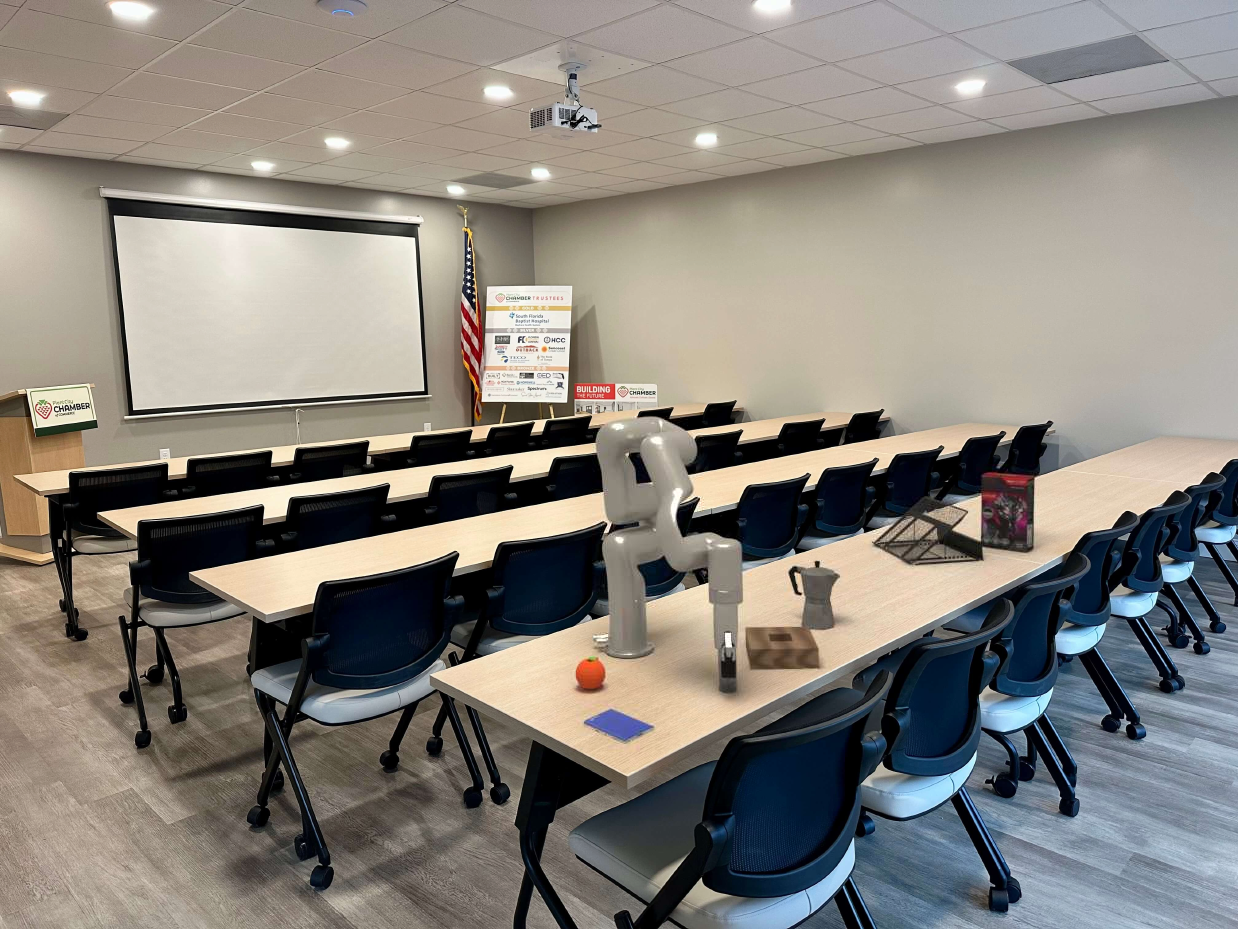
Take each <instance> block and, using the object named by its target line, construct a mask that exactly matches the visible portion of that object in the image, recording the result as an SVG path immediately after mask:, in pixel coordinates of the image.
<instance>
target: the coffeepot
mask: <svg viewBox="0 0 1238 929" xmlns="http://www.w3.org/2000/svg"><path fill="white" fill-rule="evenodd" d="M813 563H814V566H812V567H805V566H797V565H793V566H792V567H791V568H789V570H788V572H787V573H788V576H789V580H790V583H791V586H792V589H793V593H794V595H796V596H802V595H804V596H805V597H804V599H805V600H804V606H803V611H802V617H801V623H800V624H801V627H809V629H810V630H814V629H815V630H816V631H817V630H818V631H822V630H830V629H832V628H833V627H835V618H834V612H833V605H832V603H831V595H832V592H833V587H834V585H835V584H836V582H837V581H838V580H839V579H841V575H840V574H839V573H836V572H835V570H834V569H830V568H827V567H822V566H821V567H820V564H821V561H820V560H814V562H813ZM795 574H799V575H800V577H801V579H800V580H801V583H802V591H803V592H800V591H799V588H798V587H799V585H798V582H797V578H796V575H795ZM815 630H814V631H815Z"/></svg>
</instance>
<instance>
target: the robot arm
mask: <svg viewBox="0 0 1238 929" xmlns="http://www.w3.org/2000/svg"><path fill="white" fill-rule="evenodd" d="M595 450H596V455H597V459H598V463H599V466H600V471H601V478H602V481H601V482H602V490H603V502H604V512H605V516H606V518H607V521H609V523H610V524H613V525H628V524H632V523H638V524H639V526H633V527H627V528H624V529H618V530H615V531H613V532H611V533H609V534H608V535H607V536H605V538H604V539H603V542H602V546H601V547H602V548H601V550H602V556H603V560H604V566H605V570H606V577H607V592H608V593H607V594H608V595H607V596H608V616H609V632H605V634H600V633H599V634H598V633H593V635H592V636H593V637H592V638H593V639H592V641H593V643H595V642H596V644H597V645H604V652H605V653H606V655H608V654H609V655H608V656H610V657H614V658H619V659H634V658H642V657H644V656H647V655H649V654H650V653H652V652H653V651H654V644H653V642H652V641H650V640H648V628H647V627H648V626H647V602H646V600H647V599H646V598H647V596H646V582H645V578H644V577H643V575H642V573H641V572H640V571H639V569H638V565H642V564H646V563H650V562H653V561H658V560H659V559H660V560H661V558H662V557H664V558H665V560H666V561H667V563H668V564H669V566H670V567H671V568H672V569H673V570H675V571H677V572H679V573H680V572H681V573H685V572H690V571H694V570H698V569H701V568H707V571H708V572H707V576H708V578H707V580H708V582H707V583H708V603H709V604H711V605H713V609H712V610H713V611H712V613H713V615H712V616H713V617H712V618H713V642H714V643H713V644H714V648H715V650H718V648H721V649H722V660H721V677H722V678H736V666H737V659H736V660H735V653H734V649H736V650H737V648H738V640H739V638H738V636H739V633H738V632H739V609H738V608H739V605H741V604H743V603H744V592H743V591H744V588H743V587H744V584H743V547H742V544H741V542H740V541H738V540H737V539H734V538H726V537H724V536H723V537H722V536H721V535H720V534H716V533H713V532H703V533H699V534H698V533H697V534H694V535H687V536H684V537H683V536H682V534H681V530H680V528H679V526H678V521H677V514H678V510H679V507H680V505H681V504H682V503H684V502H685V501H686V500H688V498H690V497H691V496H692V495H693V493H694V490H695V488H694V484H693V482H692V481H691V478H690V476H689V474H688V471H687V469H686V466H685V465H689V464H691V463H693V462H694V460H695V459H696V457H697V454H698V446H697V443H696V441H695V439H694V437H693V436H692V434H691V433H689V431H687V430H685V429H684V428H682V427H680V426H678V425H676V424H674V423H672V422H669V421H668V420H665V419H664V418H661V417H658V416H642V417H633V418H629V417H628V418H623V419H615V420H612V421H609V422H606V423H604V425H601V427H600V428H599V430H598V432H597V434H596V438H595ZM632 453H640V458H641V459H642V462H643V464H644V467H645V468H646V471H647V473H648V476H649V478H650V480H651V482H652V483H648V482H642V483H637V479H636V476H637V475H636V468H635V466H634V465H633V462H632V461H631V459H630V457H629V456H628V455H627V454H632ZM724 635H725V638H724ZM723 645H726V646H723ZM731 645H732V646H731ZM724 650H726V651H725V652H724ZM724 656H725V657H724Z"/></svg>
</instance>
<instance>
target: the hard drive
mask: <svg viewBox="0 0 1238 929" xmlns="http://www.w3.org/2000/svg"><path fill="white" fill-rule="evenodd" d="M584 725H587V726H589V727H591V728H593V729H596V730H597V731H600V732H602V733H605V734H607V735H608V736H607V737H609V736H611V737H613V738H615V739H614V740H616V739H617V740H616V741H618V740H619V741H618V742H620V741H621V743H624V745H625V744H628V743H630V742H632V741H634V739H635V740H636V738H637V739H639V738H640V736H641V737H642V735H643V736H645V735H647V734H649V733H651V732H654V730H655V726H654V725H652V724H649V723H647V722H645V721H642V720H639V719H637V718H634V717H632V716H629V715H627V714H625V713H622V712H620V711H618V710H615V709H612V708H610V709H607V710H605V711H602V712H600V713H598V714H596V715H593V716H592V717H589V718H587V719H585V720H584V721H583V726H584ZM593 729H592V730H593ZM597 731H596V732H597ZM600 732H599V733H600ZM648 732H649V733H648ZM602 733H601V734H602ZM646 733H647V734H646ZM611 737H610V738H611ZM638 737H639V738H638ZM613 738H612V739H613ZM631 740H632V741H631Z"/></svg>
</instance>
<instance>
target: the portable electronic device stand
mask: <svg viewBox="0 0 1238 929" xmlns="http://www.w3.org/2000/svg"><path fill="white" fill-rule="evenodd" d="M968 513H969V511H968V510H967V509H963V508H960V507H958V506H955V505H952V504H949V503H947V502H944V501H941V500H938V499H935V498H932V497H929V496H926V495H925V496H924V497H922V498H920V500H919V501H917V503H915V504H914V505H913V506H912V507H911V508H910V509H909V510H907V512H905V514H903V515H902V516H901V517H900V518H899V519H898V520H897V521H895V522H894V523H893V524H892V525H891V526H890V527H889V528H888V529H887V530H885V532H883V533H882V534H881V535H880V536H879V537H877V539H876V540H874V541H872V540H871V543H872V544H873V545H874V546H875V547H877V548H880V549H881V550H884V551H886V552H888V553H889V554H891V555H894V556H895V557H897V558H899V559H901V560H903V561H904V562H905V563H906V564H908V565H912V564H913V566H925V565H926V566H928V565H940V564H941V565H942V564H945V565H946V564H955V563H956V564H957V563H970V562H971V563H973V562H980V561H982V562H984V551H983V546H982V542H981V540H979V539H975V538H973V537H971V536H969V535H966V534H963V533H961V532H959V531H956V530H953V529H955V528H956V527H957V526H958V525H959V524H960V523H961V522H962V521H963V520H964V518H965V517H966V515H968ZM927 526H928V528H927ZM936 545H943V546H944V556H940V555H938V554H936V553H934V552H932V551H931V549H932V548H934V547H935V546H936ZM886 547H887V548H886ZM946 547H947V548H949V549H952V550H953V551H956V552H958V553H960V554H962V555H952V556H951V555H949V556H946V554H947V552H946V551H947V550H946V549H947V548H946ZM927 553H930V554H932V555H934V557H923V556H925V555H926V554H927ZM970 558H971V559H970ZM952 559H954V560H952ZM938 560H939V561H938ZM916 562H917V563H916Z"/></svg>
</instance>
